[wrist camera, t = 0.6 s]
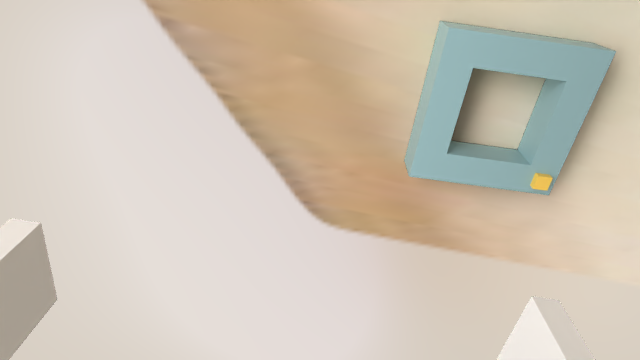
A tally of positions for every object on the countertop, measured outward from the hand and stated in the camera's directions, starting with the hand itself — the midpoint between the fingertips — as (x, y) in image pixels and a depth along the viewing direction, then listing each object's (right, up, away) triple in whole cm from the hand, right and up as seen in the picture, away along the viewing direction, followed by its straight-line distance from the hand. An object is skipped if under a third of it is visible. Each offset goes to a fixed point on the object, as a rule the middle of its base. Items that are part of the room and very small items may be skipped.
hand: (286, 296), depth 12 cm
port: (+15, +9, +23) cm, 29 cm away
